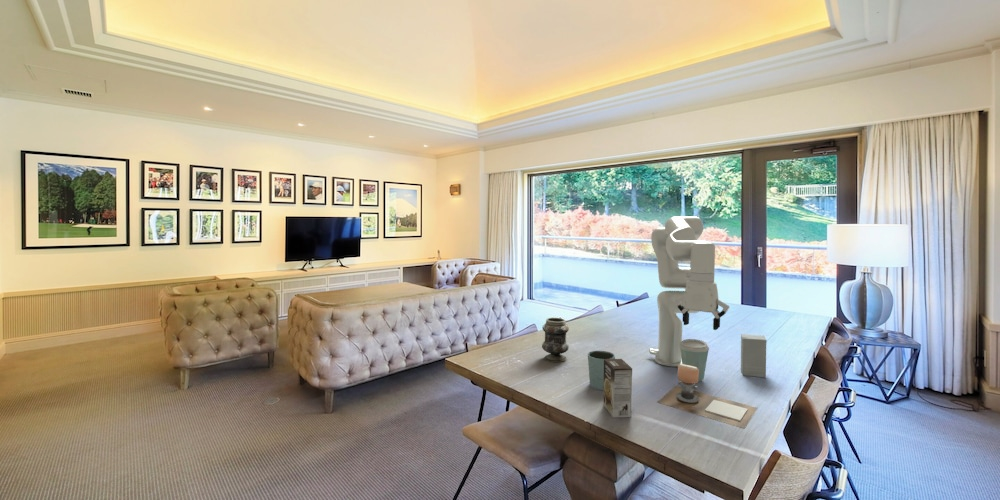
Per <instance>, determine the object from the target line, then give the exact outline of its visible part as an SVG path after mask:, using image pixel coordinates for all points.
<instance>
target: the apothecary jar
mask: <svg viewBox="0 0 1000 500" xmlns="http://www.w3.org/2000/svg"><path fill="white" fill-rule="evenodd" d="M569 330H570V327H569V326H568V325H567V322H566V319H564V318H560V317H547V318H546V320H545V323H543V325H542V331H543V332H544V341H543V342H542V344H541V348H542V349H543V351H545V352H546V353H548V354H546V355H545V356H544V357H543V358H544V360H545V361H547V362H552V363H561V362H565V361H566V360H567V357H566V356H565V355H564V353H566V352H567V351H569V348H570V347H569V346H570V345H569V344H568V342H567V333H568V332H569Z"/></svg>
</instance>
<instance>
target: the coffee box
mask: <svg viewBox="0 0 1000 500" xmlns="http://www.w3.org/2000/svg"><path fill="white" fill-rule="evenodd" d="M632 387H633V367H631V365H629V364H628V363H627V362H626V361H625V360H624V359H622V358H615V359H604V390H603V401H602V402H603V406H604V408H605V409H606V411H608V414H610V415H611V417H612V418H631V417H632V395H633V394H632V393H633V392H632V390H633V388H632Z"/></svg>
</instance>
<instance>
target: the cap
mask: <svg viewBox="0 0 1000 500" xmlns="http://www.w3.org/2000/svg"><path fill="white" fill-rule="evenodd" d="M698 375H699V369H698V368H697V367H694V366H690V365H685V364H680V365H679V366H678V367H677V380H678V381H682V382H685V383H694V384H697V383H699V381H698Z"/></svg>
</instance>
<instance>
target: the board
mask: <svg viewBox="0 0 1000 500" xmlns="http://www.w3.org/2000/svg"><path fill="white" fill-rule="evenodd" d="M680 392H681V386H679V385H675V386H673V388H671V389H670V390H669V391H668V392H667V393H665V395H663V396H662V397H660V398H659V399H658V400H657V401H656V403H659V404H662V405H665V406H668V407H672V408H675V409H678V410H681V411H684V412H688V413H691V414H694V415H697V416H701V417H704V418H707V419H711V420H714V421H717V422H720V423H724V424H728V425H731V426H733V427H734V426H735V427H737V428H740V429H742V430H743V429H746V427H747V426H748V424H749V422H750V420H751V419H752V417H753V416H754V414H755V412H756V411H757V410H758V407H756V406H753V405H749V404H744V403H742V402H741V403H740V402H737V401H733V400H729V399H726V398H722V397H719V396H715V395H711V394H707V393H703V392H700V391H696V390H694V395H696V396H697V397H698V398H699V402H698V403H697V404H686V403H683V402H680V401H678V400H677V399H676V394H677V393H680ZM713 400H717V401H721V402H724V403H728V404H732V405H735V406H739V407H743V408H746V409H748V410H747V412H746V413H745V415H744V416H743V418H742V419H741V421H737V420H733V419H730V418H727V417H723V416H720V415H716V414H713V413H710V412H706V411H705V409H706V408H707V407H708V406H709V405H710V403H711V402H712V401H713Z"/></svg>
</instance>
